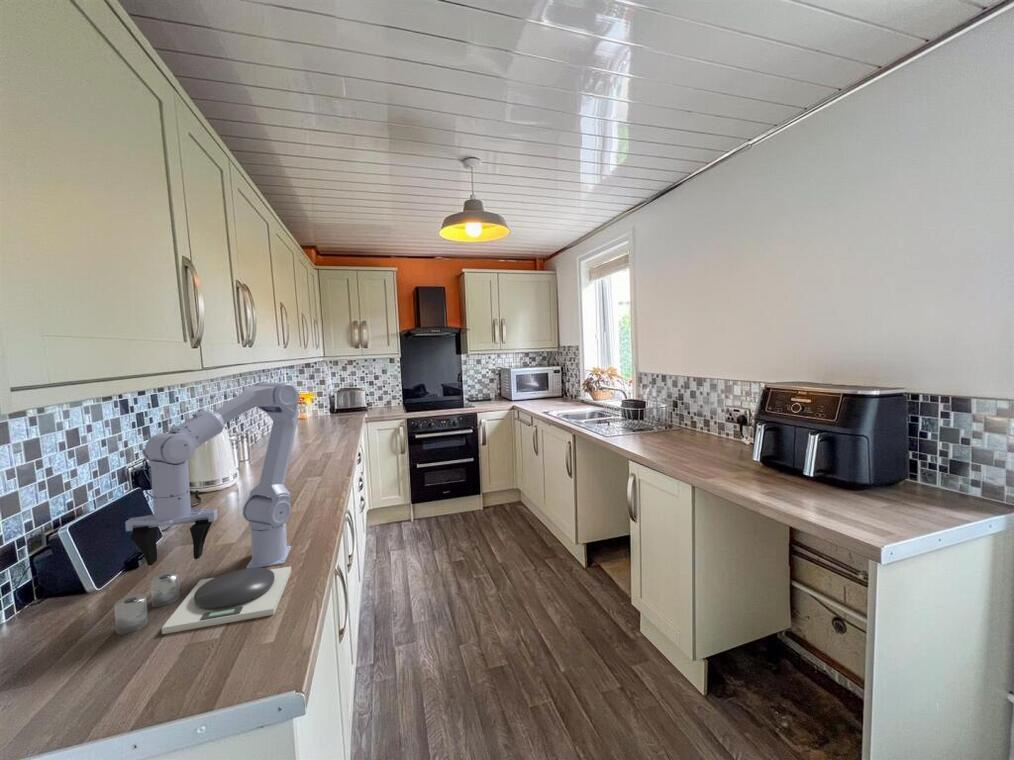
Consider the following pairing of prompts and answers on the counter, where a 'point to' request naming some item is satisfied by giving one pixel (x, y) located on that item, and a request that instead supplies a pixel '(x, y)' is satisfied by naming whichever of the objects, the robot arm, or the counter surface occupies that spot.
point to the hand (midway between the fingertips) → (175, 559)
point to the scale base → (199, 617)
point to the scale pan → (234, 588)
